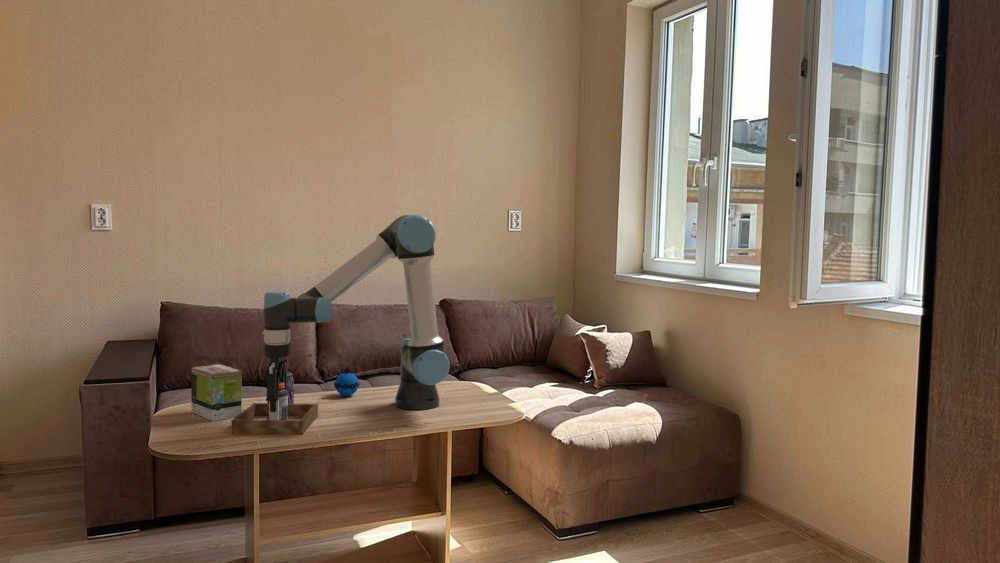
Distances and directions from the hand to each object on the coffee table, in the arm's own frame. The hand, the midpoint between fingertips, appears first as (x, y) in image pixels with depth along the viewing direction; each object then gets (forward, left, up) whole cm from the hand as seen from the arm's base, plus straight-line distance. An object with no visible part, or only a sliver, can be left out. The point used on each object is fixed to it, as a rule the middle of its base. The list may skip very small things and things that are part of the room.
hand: (277, 418), depth 210 cm
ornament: (-14, -38, -2) cm, 41 cm away
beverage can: (+3, -17, -2) cm, 17 cm away
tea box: (+22, -11, -2) cm, 25 cm away
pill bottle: (0, 0, -1) cm, 1 cm away
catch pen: (0, 0, -2) cm, 2 cm away
